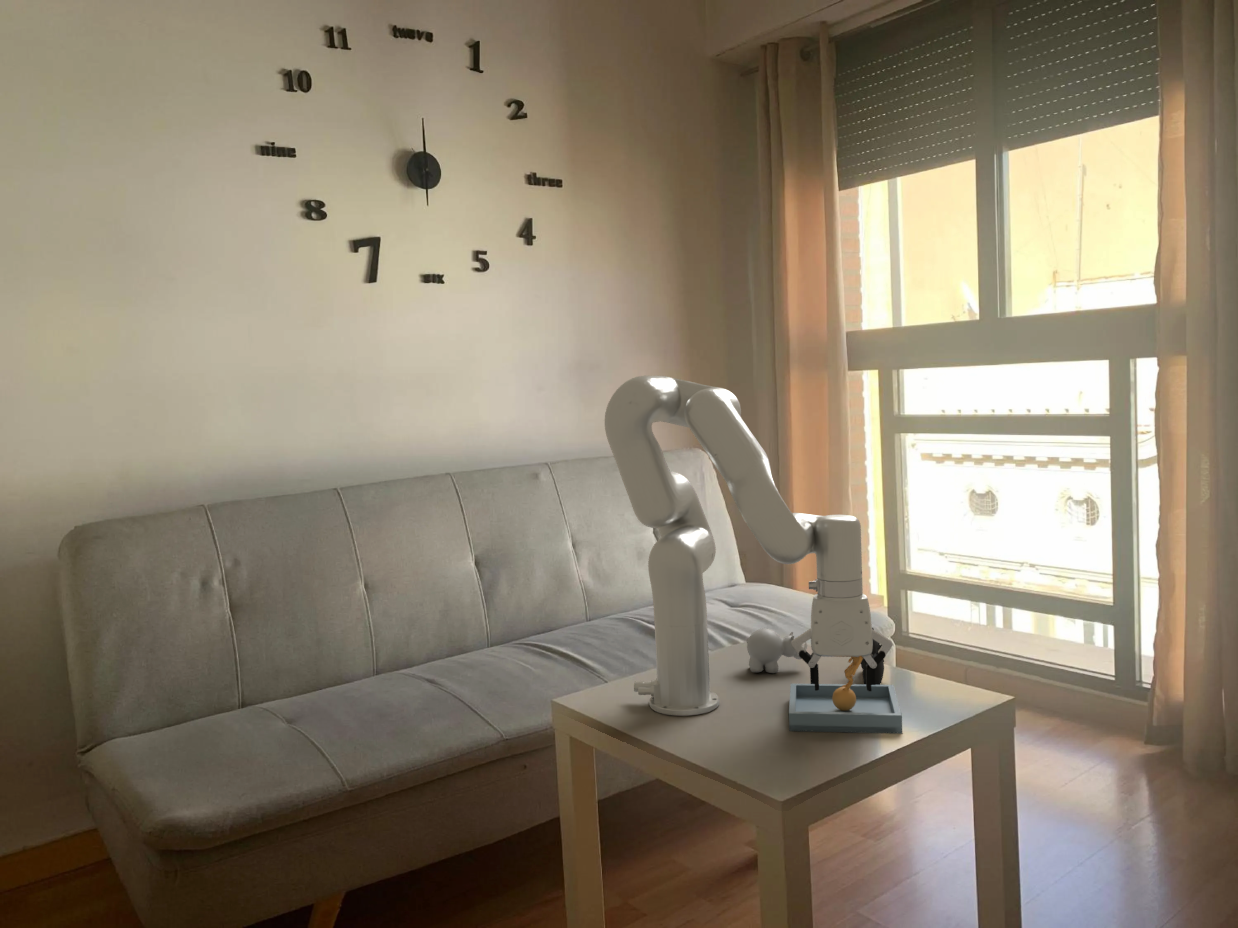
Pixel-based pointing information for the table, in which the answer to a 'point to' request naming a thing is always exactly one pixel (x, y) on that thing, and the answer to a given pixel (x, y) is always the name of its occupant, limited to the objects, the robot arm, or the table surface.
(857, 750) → the table surface
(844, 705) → the figurine
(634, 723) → the table surface
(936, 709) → the table surface
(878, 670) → the black elongated piece
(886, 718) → the tray
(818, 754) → the table surface
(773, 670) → the chubby cartoon animal
